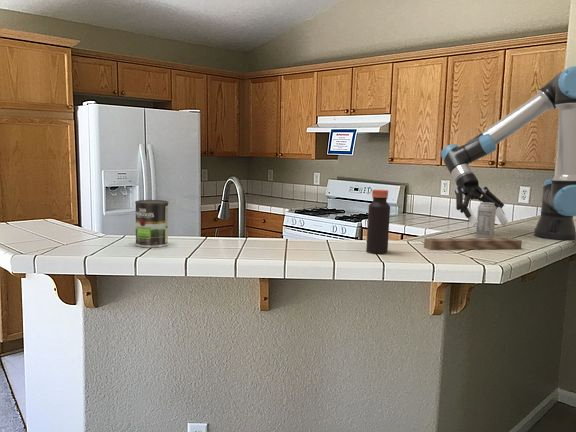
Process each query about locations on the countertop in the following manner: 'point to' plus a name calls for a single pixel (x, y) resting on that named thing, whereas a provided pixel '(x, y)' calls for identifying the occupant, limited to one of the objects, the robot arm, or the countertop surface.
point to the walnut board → (471, 243)
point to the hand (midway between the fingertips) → (490, 223)
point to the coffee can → (151, 223)
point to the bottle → (378, 223)
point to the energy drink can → (486, 220)
